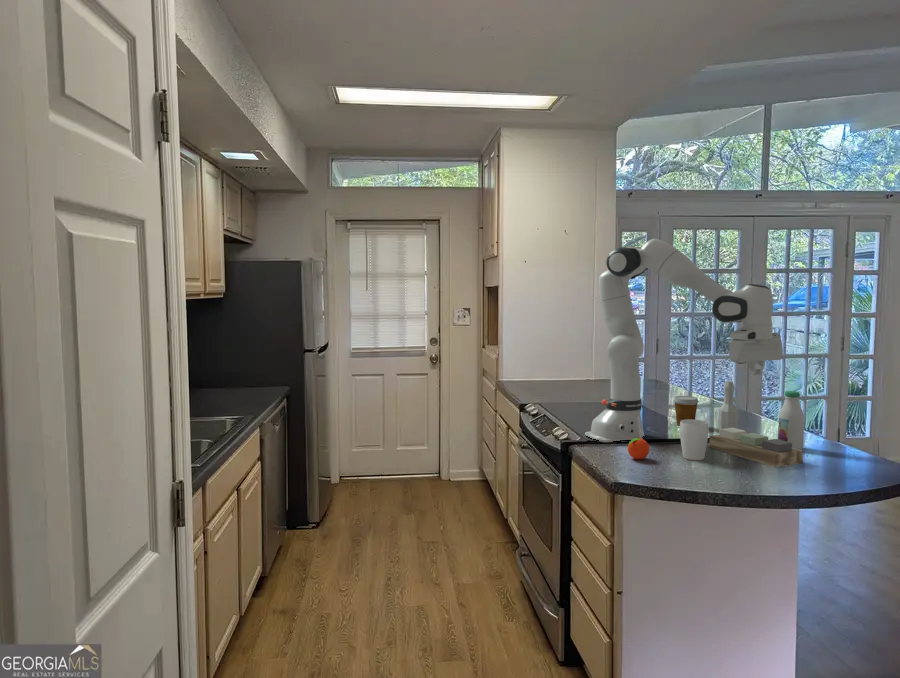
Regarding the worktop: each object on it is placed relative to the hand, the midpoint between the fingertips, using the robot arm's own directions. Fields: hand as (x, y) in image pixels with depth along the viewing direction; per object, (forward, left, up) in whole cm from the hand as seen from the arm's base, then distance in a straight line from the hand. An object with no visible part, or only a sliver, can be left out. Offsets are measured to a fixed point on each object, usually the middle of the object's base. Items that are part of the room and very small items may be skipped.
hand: (755, 374), depth 205 cm
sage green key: (0, 0, -25) cm, 25 cm away
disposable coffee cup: (+9, +42, -27) cm, 51 cm away
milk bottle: (+18, +1, -27) cm, 33 cm away
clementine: (-39, +11, -27) cm, 49 cm away
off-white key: (0, +9, -25) cm, 26 cm away
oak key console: (0, 0, -27) cm, 27 cm away
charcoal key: (0, -9, -25) cm, 26 cm away
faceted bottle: (+7, +18, -27) cm, 33 cm away
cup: (-21, +5, -27) cm, 35 cm away
